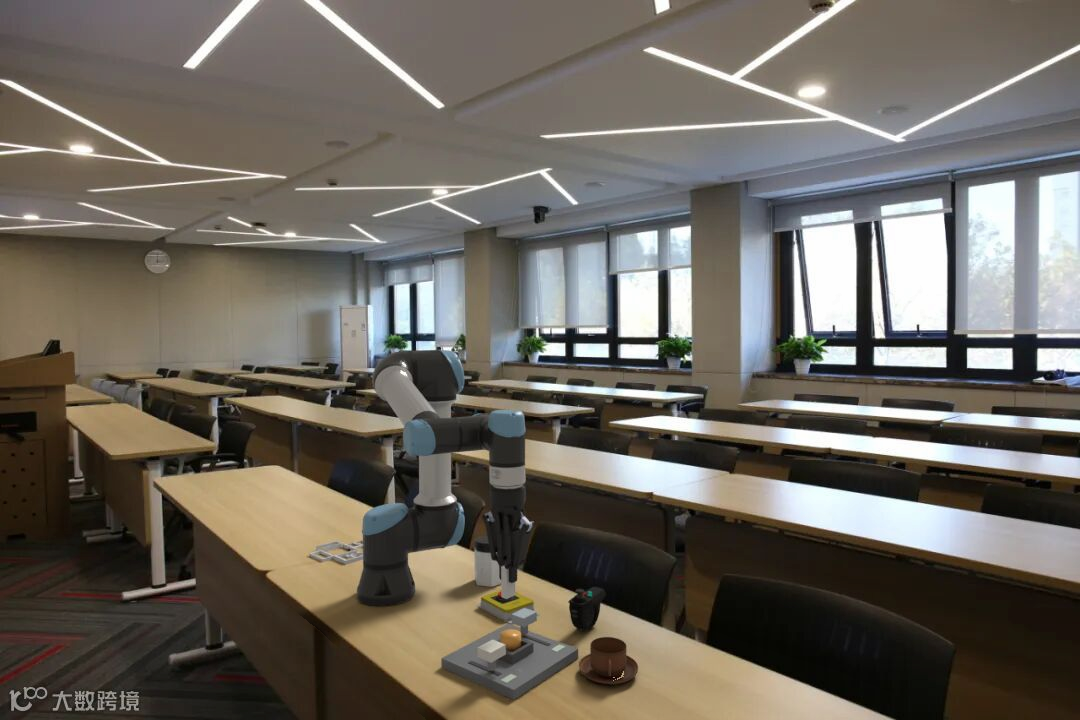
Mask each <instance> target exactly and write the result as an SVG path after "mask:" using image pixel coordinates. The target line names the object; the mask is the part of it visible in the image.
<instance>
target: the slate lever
mask: <svg viewBox="0 0 1080 720" xmlns="http://www.w3.org/2000/svg"><path fill="white" fill-rule="evenodd" d="M535 611H536V610H535ZM535 611H532V610H529V609H526V608H523V609H521V610H519V611H517V612H515V613H513V614H512V623H513V624H512V625H516V626H517V627H518V626H519V628H520V632H521V634H522V635H526V634H528V631H529V626H530V625H531V624H534V623H535V622H537V620H538V618H537V617H538V616H537V612H538V611H537V612H535Z"/></svg>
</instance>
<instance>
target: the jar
mask: <svg viewBox="0 0 1080 720" xmlns="http://www.w3.org/2000/svg"><path fill="white" fill-rule="evenodd" d="M473 549H474V581H475V584H476V586H481V587H489V588H493V587H496V586H499V585H500V586H501V580H500V578H499V565H498V562H497V561H493V560H492V558H491V553H490V548H489V542H488V537H487V534H484V535H479V536H477V537H475V539H474V547H473ZM496 554H497V552H496Z"/></svg>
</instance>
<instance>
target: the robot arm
mask: <svg viewBox="0 0 1080 720" xmlns="http://www.w3.org/2000/svg"><path fill="white" fill-rule="evenodd" d="M371 380H372V381H371V382H372V387H373V390H374V392H375V393H376V395H377V396H378V397H379V398H380V399H381V400H383V401H385V402H387V403H388V404H389V407H390V408H391V409H392V411H393V413H395V415H396V416H397V418H398V419H399V420H400V422H401V424H402V426H403V430H402V439H403V446H404V449H405V452H406V454H407V455H409V456H412V457H415V456H416V457H418V468H419V469H418V477H419V478H418V479H419V481H418V482H419V483H418V484H419V485H418V491H419V492H418V494H417V495H416V496H415V497H414V498H413V507H410V508H409V507H408V506H407V505H406V503H403V502H402V503H401V502H395V503H394V502H393V503H392V502H391V503H386V504H382V505H378V506H375V507H372V508H371V509H369V510H367V512H365V514H364V515H363V517H362V525H361V526H362V529H361V533H362V541H363V543H362V545H363V547H362V552H363V560H362V563H363V564H362V571H361V575H360V579H359V582H358V585H357V587H356V599H357V601H358V602H360V603H361V604H364V605H367V606H373V607H374V606H375V607H383V606H384V607H385V606H393V605H398V604H401V603H404V602H407V601H409V600H411V599H412V598H413V597H414V596H415V594H416V584H415V583H416V582H415V580H414V577H413V574H412V571H411V568H410V566H409V554H411V553H418V552H419V553H420V552H424V551H430V550H435V549H445V548H448V547H452V546H455V545H457V544H458V543H459V542H460V540H462V537H463V534H464V530H465V525H466V524H465V521H466V520H465V515H464V512H465V511H464V508H463V506H462V504H461V503H460V502H458V501H457V500H458V499H457V497H456V496H455V495H454V494H453V493H452V454H453V453H464V452H472V451H473V452H475V451H488V457H489V459H488V464H489V467H488V468H489V469H488V470H489V484H490V486H489V493H488V494H489V503H490V505H491V507H490V511H488V512H486V513H483V514H482V515H481V519H482V521H483V522H484V526H485V530H486V535H487V537H488V542H489V548H490V553H491V558H492V560H493V561H497V562H498V565H499V578H500V580H501V584H500V586H501V596H502V598H505V599H508V598H510V597H512V596H514V595H515V592H516V582H517V581H518V567H520V566H522V565H524V564H526V560H527V555H528V551H529V550H528V549H529V545H530V539H531V533H532V532H533V529H534V528H535V525H536V523H535V522H534V521H533V520H532V521H529V519H528V518H527V517H526V511H525V509H524V505H525V503H526V499H527V496H526V493H527V492H526V491H527V490H526V486H525V483H526V482H527V481H526V479H527V478H526V431H527V430H526V424H525V423H526V421H525V414H524V413H523V412H522V411H521V410H518V409H515V410H514V409H497V410H492V411H490V413H486V412H485V413H476V414H475V413H474V414H473V415H471V416H470V415H469V416H460V417H458V416H457V417H452V415H451V414H452V412H451V409H452V408H451V407H452V405H453V404H454V403H455V402H456V401H457V394H459V393H461V392H462V391H463V390H464V386H465V371H464V367H463V364H462V362H461V360H460V357H459V355H458V354H457V353H456V352H455V351H453V350H449V349H448V350H446V349H428V350H427V349H426V350H423V349H422V350H398V351H394V352H392V353H389V354H387V355H386V356H384V357H383V358H382V359H381V360H380V361H379V362H378V363H376V366H375V367H374V370H373V373H372V377H371ZM496 552H497V554H496Z"/></svg>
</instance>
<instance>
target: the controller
mask: <svg viewBox="0 0 1080 720" xmlns="http://www.w3.org/2000/svg"><path fill="white" fill-rule="evenodd" d="M575 593H576V594H575V595H574V596H573V597H572V598H570V599H569V600H568V601H567V602H568V604H569V605H568V606H569V607H568V609H569V615H570V620H571V623H572V626H573V627H574V628H576V629H577V630H580V631H586V632H587V631H590V630H591V629H593V628H594V626H595V625H596V623H597V622H598V619H599V615H600V611H601V603H602V601H603V599H605V597H606V596H607V593H606V591H605V589H604V588H603V587H599V586H591V587H590V588H588V589H586V590H585V589H584V588H576V589H575Z"/></svg>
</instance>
